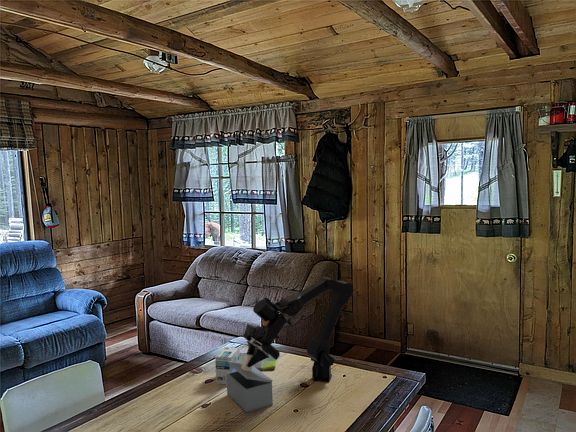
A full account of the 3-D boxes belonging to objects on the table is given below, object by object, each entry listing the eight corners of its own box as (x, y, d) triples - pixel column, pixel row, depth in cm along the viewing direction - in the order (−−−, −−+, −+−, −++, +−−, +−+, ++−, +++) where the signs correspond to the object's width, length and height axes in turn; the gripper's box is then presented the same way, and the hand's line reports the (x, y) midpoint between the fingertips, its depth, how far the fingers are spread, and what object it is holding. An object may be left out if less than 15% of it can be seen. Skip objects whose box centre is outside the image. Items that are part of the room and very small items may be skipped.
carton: (252, 388, 170) (251, 367, 169) (272, 405, 156) (271, 382, 156) (227, 395, 165) (226, 373, 164) (246, 413, 151) (245, 390, 151)
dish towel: (275, 372, 185) (275, 365, 185) (215, 373, 186) (215, 366, 185) (277, 356, 202) (277, 350, 202) (222, 357, 203) (222, 350, 203)
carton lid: (250, 366, 170) (255, 351, 170) (271, 382, 156) (276, 365, 156) (227, 362, 165) (232, 347, 165) (246, 378, 150) (252, 361, 151)
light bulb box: (232, 385, 173) (231, 357, 172) (215, 384, 175) (214, 356, 174) (240, 373, 184) (239, 347, 183) (224, 372, 185) (223, 346, 184)
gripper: (246, 309, 169) (220, 345, 164) (270, 322, 153) (242, 361, 148) (266, 326, 173) (240, 361, 169) (291, 340, 157) (264, 379, 153)
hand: (246, 365), depth 159 cm, fingers closed on carton lid, 2 cm apart
